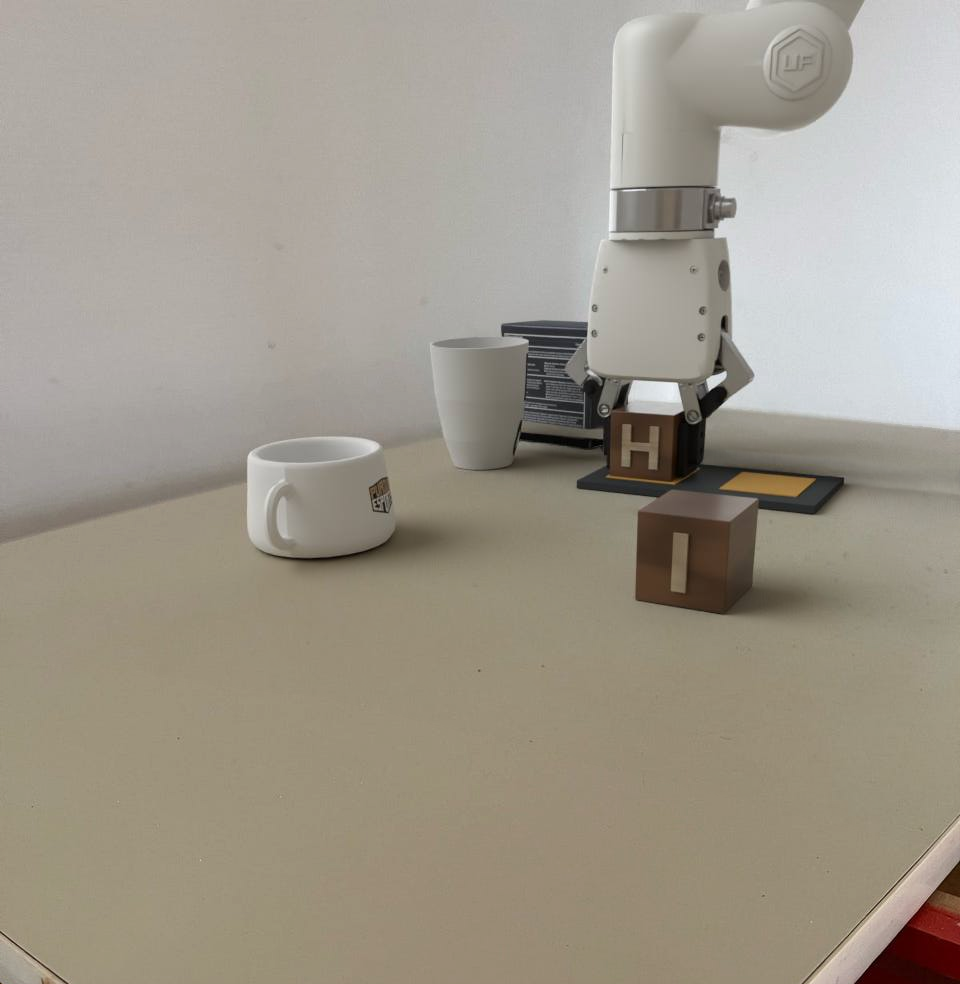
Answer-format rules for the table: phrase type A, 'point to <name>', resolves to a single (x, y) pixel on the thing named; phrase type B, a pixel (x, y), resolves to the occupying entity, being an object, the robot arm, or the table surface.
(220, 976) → the table surface
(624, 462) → the letter h block
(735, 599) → the block
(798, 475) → the word mat
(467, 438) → the cup
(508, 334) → the small box
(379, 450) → the mug
